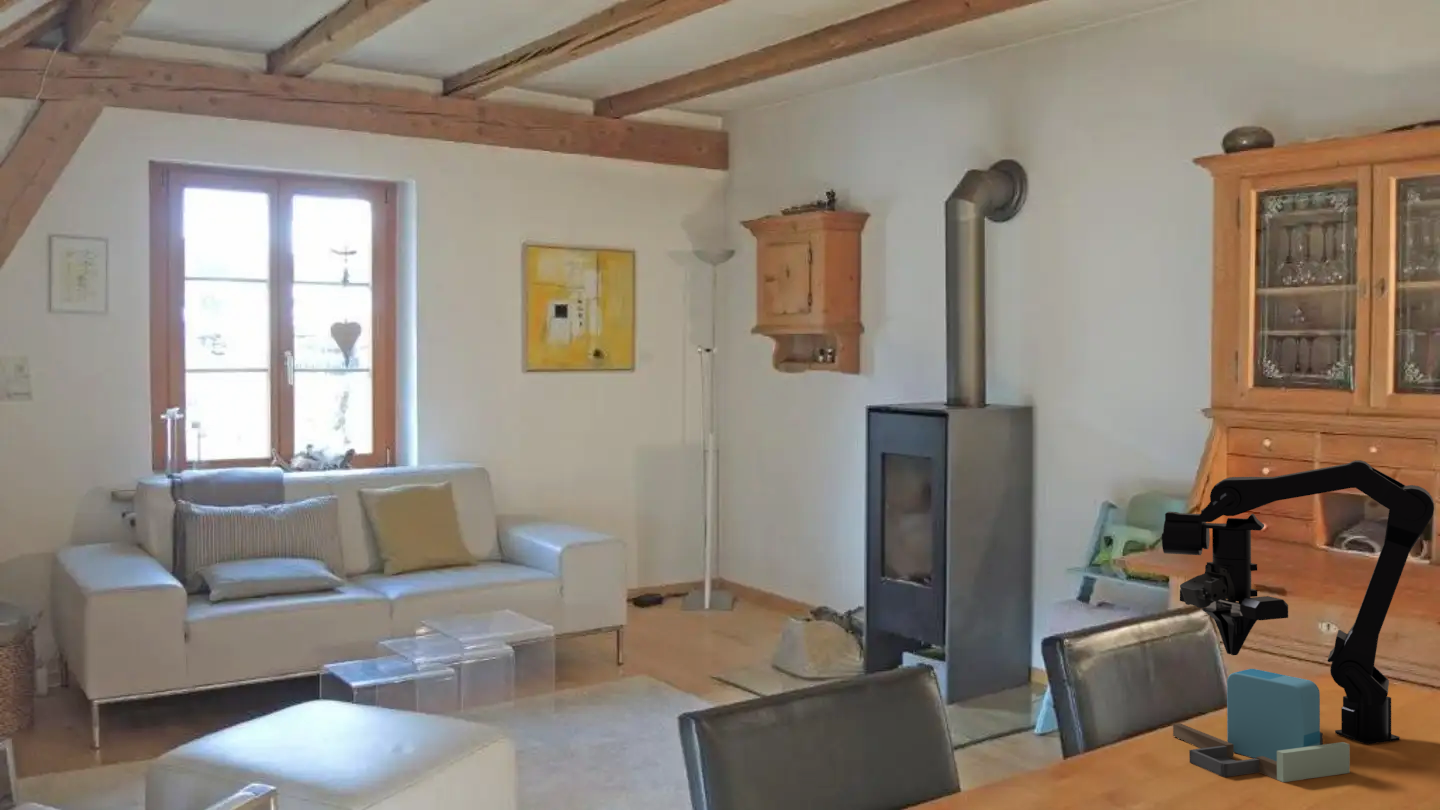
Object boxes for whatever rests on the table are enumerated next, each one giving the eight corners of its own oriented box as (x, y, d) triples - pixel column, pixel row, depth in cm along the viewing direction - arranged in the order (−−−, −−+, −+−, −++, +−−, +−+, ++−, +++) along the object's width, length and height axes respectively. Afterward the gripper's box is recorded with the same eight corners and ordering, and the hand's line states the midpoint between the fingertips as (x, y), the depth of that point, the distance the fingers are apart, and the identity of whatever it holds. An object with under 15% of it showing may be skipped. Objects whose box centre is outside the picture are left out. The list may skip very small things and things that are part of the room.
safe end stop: (1343, 770, 178) (1342, 741, 178) (1349, 772, 177) (1349, 744, 177) (1276, 779, 175) (1276, 750, 175) (1283, 782, 174) (1283, 753, 174)
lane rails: (1234, 729, 199) (1234, 716, 199) (1343, 770, 178) (1342, 756, 178) (1173, 736, 196) (1173, 723, 196) (1276, 779, 175) (1276, 765, 175)
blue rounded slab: (1320, 765, 181) (1320, 681, 180) (1302, 771, 178) (1302, 686, 178) (1244, 745, 191) (1244, 666, 190) (1226, 751, 188) (1226, 670, 188)
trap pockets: (1287, 732, 197) (1287, 720, 197) (1359, 758, 184) (1359, 746, 183) (1158, 748, 190) (1158, 736, 190) (1223, 777, 176) (1223, 764, 176)
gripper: (1151, 552, 208) (1152, 647, 209) (1230, 568, 191) (1231, 671, 191) (1208, 548, 212) (1208, 641, 212) (1290, 563, 194) (1291, 665, 195)
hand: (1232, 654), depth 202 cm, fingers closed
